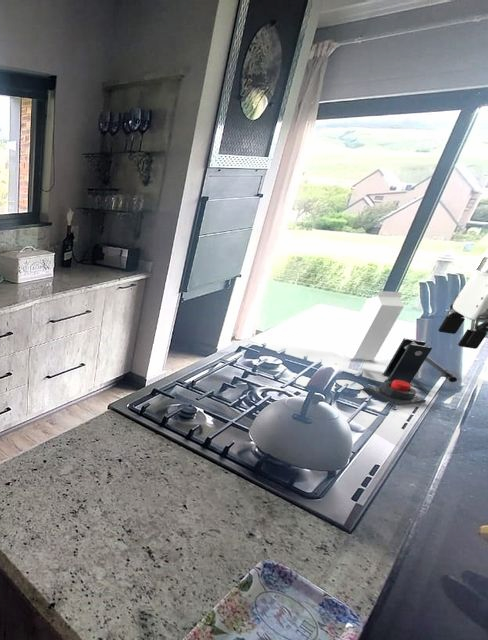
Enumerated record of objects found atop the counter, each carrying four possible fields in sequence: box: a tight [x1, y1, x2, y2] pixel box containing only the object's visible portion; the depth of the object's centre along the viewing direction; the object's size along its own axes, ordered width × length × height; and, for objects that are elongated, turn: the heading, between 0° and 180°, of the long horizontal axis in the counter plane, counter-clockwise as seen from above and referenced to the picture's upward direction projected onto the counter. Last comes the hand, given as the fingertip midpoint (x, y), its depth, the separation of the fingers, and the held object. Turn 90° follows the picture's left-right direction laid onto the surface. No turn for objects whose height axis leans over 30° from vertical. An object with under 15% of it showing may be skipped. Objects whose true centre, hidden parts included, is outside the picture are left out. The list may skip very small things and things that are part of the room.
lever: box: [404, 342, 458, 383], centre depth 108 cm, size 13×5×2 cm
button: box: [391, 380, 412, 392], centre depth 104 cm, size 3×3×2 cm
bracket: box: [382, 337, 433, 384], centre depth 111 cm, size 11×9×13 cm
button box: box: [365, 380, 427, 411], centre depth 105 cm, size 9×8×4 cm
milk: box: [340, 290, 405, 361], centre depth 122 cm, size 6×6×22 cm
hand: (456, 339), depth 97 cm, fingers open, 9 cm apart
